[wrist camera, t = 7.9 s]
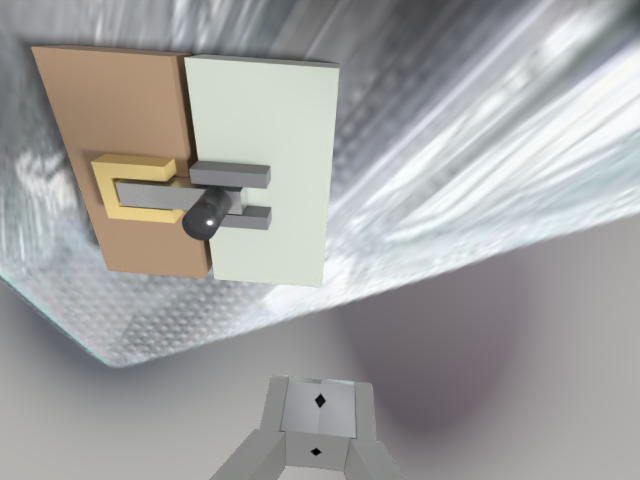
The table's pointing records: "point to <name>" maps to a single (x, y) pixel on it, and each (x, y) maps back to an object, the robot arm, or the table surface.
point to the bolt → (186, 201)
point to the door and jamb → (200, 155)
